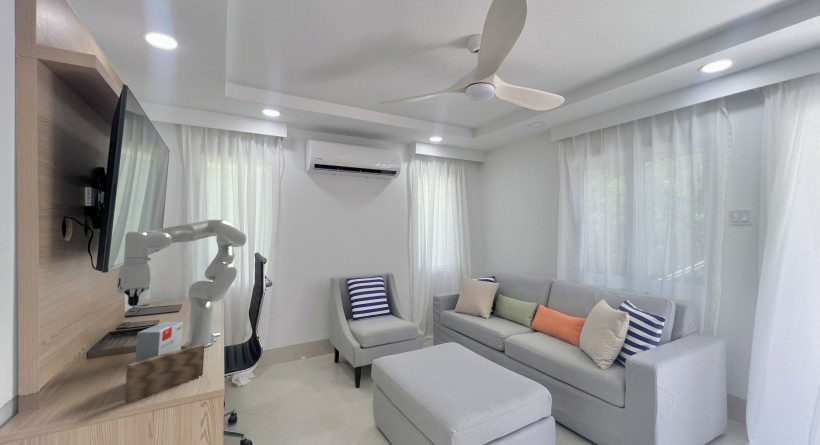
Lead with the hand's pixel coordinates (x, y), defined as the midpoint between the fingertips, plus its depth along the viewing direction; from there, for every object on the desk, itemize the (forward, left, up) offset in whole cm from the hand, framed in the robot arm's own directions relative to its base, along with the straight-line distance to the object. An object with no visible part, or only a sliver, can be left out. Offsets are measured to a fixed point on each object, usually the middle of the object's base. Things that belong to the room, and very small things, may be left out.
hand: (133, 305), depth 135 cm
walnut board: (+3, +33, -25) cm, 42 cm away
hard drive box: (+1, +23, -25) cm, 34 cm away
